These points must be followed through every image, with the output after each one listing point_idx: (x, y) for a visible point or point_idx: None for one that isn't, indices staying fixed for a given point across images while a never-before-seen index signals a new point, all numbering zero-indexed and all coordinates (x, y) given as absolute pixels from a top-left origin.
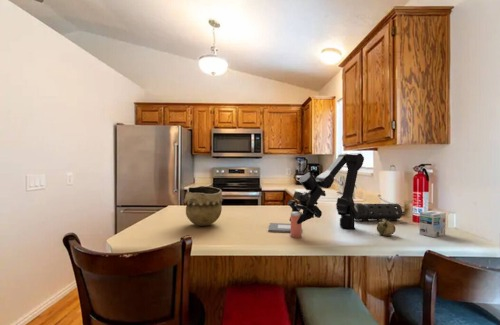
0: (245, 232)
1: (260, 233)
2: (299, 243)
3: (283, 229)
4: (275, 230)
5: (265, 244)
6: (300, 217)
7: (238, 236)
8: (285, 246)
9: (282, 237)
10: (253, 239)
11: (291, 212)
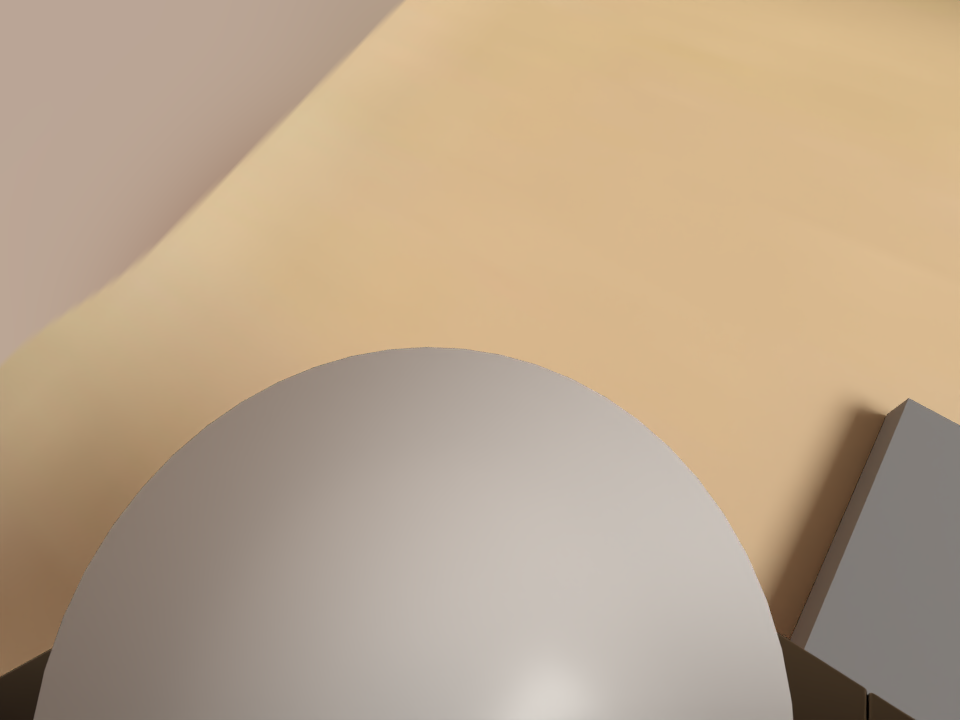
0: (898, 155)
1: (812, 275)
2: (104, 482)
3: (880, 686)
4: (860, 502)
5: (364, 127)
6: None
7: (745, 53)
8: (162, 251)
9: None
10: (584, 112)
11: (547, 399)
